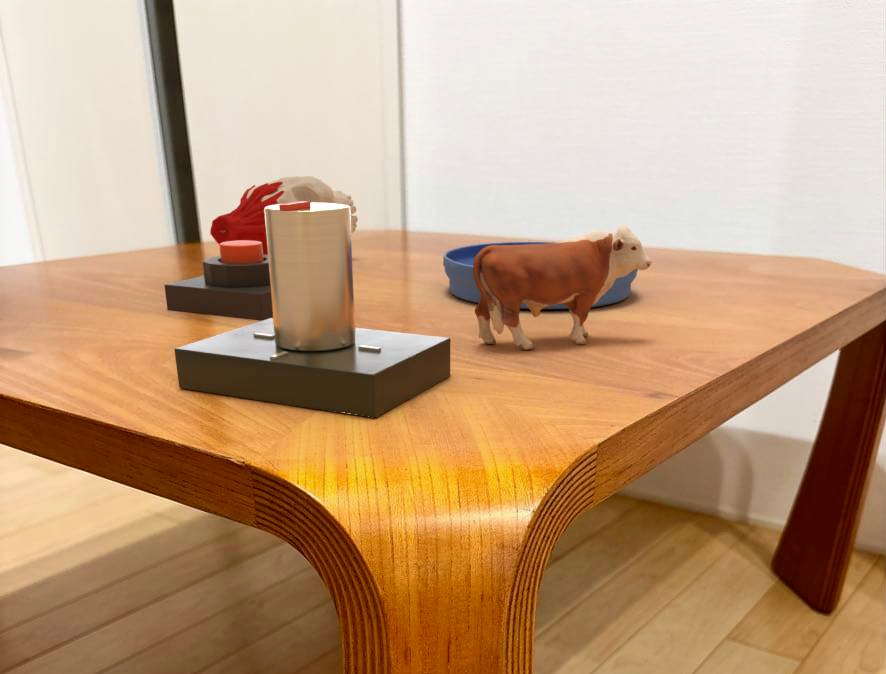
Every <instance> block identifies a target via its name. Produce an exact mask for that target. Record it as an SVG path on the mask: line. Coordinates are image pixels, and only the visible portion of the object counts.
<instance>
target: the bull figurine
mask: <svg viewBox="0 0 886 674" xmlns="http://www.w3.org/2000/svg"><path fill="white" fill-rule="evenodd" d="M652 263H653V262H652V258H651V257H650V256H649V254H648V253H647V251H646V249H645V247H644V246H643V243H642V241H641V240H640V239H639V238H638V236H637V235H636V234H634V233H633V232H632V230H631V229H630V228H629V227H628V226H627V225H622V226H619V227H618V228H617V230H616V231H615V232H613V233H609V232H606V231H602V230H591V231H588V232H587V233H585V234H583V235H582V236H579V237H573V238H569V239H566V240H562V241H557V242H556V243H548V244H527V245H490V246H487V247H485V248H483V249H482V250H481V251H480V252H479V253H478V254H477V256H476V257H475V259H474V264H473V275H474V280H475V283H476V285H477V287H478V289H479V291H480V292H481V298H480V302H479V303H477V305H476V306H475V309H474V314H475V316H476V320H477V323H478V330H479V331H478V338H479V339H481V340H482V341H483V343H485V344H486V345H494V344H496V343H497V340H496V337H495V336H494V334H493V332H492V330H491V324H492V327H493V330H494V331H495V332H496V333H497V334H498V335H501V334H503V332H504V327H505V326H506V328H508V330H509V331H510V333H511V335H512V340H513V344H514V346H516V347H520V346H521V348H522V349H523V350H533V349H535V345H534V343H533V342H532V341H531V340H530V338H529V337H528V336H527V335H526V334H525V333H524V331H523V328H522V325H521V322H520V310H521V309H520V306H521V303H524V304H525V305H527V306H528V308H529V309H528V310H529V311H530V312H531V314H532V316H533V317H534V318H537V317H539V316H540V315H541V311H542V310H544V309H543V308H544V307H547V306H551V305H555V304H559V303H561V304H564V305H566V306H568V307H569V309H568V311H569V315H570V316H571V318H572V321H573V326H572V329H571V332H570V333H569V338H570V340H571V341H574V343H576V345H586V344H587V341H586V338H585V337H588V336H589V332H588V331H587V330H586V328H585V326H584V323H585V322H586V321H587V319H588V316H589V313H590V310H591V308H593V307H592V305H594V304H595V303H597V302H598V300H599V299H600V297H601V296H602V295H604V294H605V293H606V292H607V291H608V290H609V289H610V288H611V287H612V285H613V283H614V281H615V279H616V278H620V277H624V276H626V275H628V274H629V273H630V272H632V271H633V270H635V269H638V271H639V270H640V271H646V270H648V269H650V267H651V265H652Z"/></svg>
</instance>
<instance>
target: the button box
mask: <svg viewBox="0 0 886 674" xmlns="http://www.w3.org/2000/svg"><path fill="white" fill-rule="evenodd" d="M263 259H264V261H261V262H253V263H223V262H221V256H220V255H215V256H211V257H207V258H205V259H204V260H203V261H202V269H203V270H202V271H203V275H200V276H195V277H192V278H187V279H184V280H178V281H174V282H170V283H166V284H164V285H163V286H164V293H165V301H166V308H167V309H166V311H172V312H182V313H189V314H190V313H191V314H197V315H199V314H200V315H207V316H208V315H209V316H216V317H226V318H233V319H234V318H235V319H242V320H243V319H244V320H251V321H252V320H253V321H263V320H266V319H269V318H273V312H272V300H271V287H270V274H269V261H268V255H263Z"/></svg>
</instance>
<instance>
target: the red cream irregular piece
mask: <svg viewBox="0 0 886 674" xmlns="http://www.w3.org/2000/svg"><path fill="white" fill-rule="evenodd" d="M300 201H310V203H335V204H344V205H348V206H350V215H351V235H352V234H353V233H354V232H355V231H356V228H357V227H358V225H357V223H358V221H359V219H358V216H357V215H354V214H356V213H357V207H356V206H355V205H354V204H355V203H354V200H353V199H352V196H351V195H349V194H345V193H344V192H343V191H342V190H333V189H332V187H331V186H329V185H328V184H327V183H325V182H324V181H322V180H321V179H319V178H318V177H314V176H311V175H306V176H304V175H303V176H298V175H295V176H284V177H280V178H278V179H275V180H272V181H269V182H265V183H264V184H260V185H255V184H254V185H252V186H251V187H250V188H247V189H246V190H245V191H244V192H243V194H242V196H241V198H240V201H239V204H238V206H237V207H236V208H234V209H233V210H232V211H231V212H228V213H225V214H221V215H218V216H217V217H216V218H214V219H212V221H211V227H210V233H209V234H210V236H211V237H212V238H213V239H214V241H215V242H216V243H217V244H218V245H219V244H220V243H222V242H227V241H238V240H251V241H259V242H262V246H263V255H268V249H267V236H266V223H265V211H264V209H265V207H267V206H270V205H276V204H287V203H293V202H300Z"/></svg>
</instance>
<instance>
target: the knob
mask: <svg viewBox="0 0 886 674" xmlns="http://www.w3.org/2000/svg"><path fill="white" fill-rule="evenodd" d="M264 211H265V223H266V236H267V249H268V261H269V274H270V287H271V300H272V312H273V325H274V338H275V344H276V345H277V346H278V347H280V348H283V349H287V350H293V351H329V350H336V349H341V348H345V347H348V346H350V345H352V344H354V343H355V340H356V339H355V328H356V319H355V318H356V317H355V294H354V293H355V291H354V272H353V271H354V269H353V267H354V266H353V243H352V242H353V241H352V234H351V215H352V214H351V215H350V206H348V205H344V204H335V203H310V201H300V202H293V203H287V204H276V205H270V206H267V207H265V209H264Z"/></svg>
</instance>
